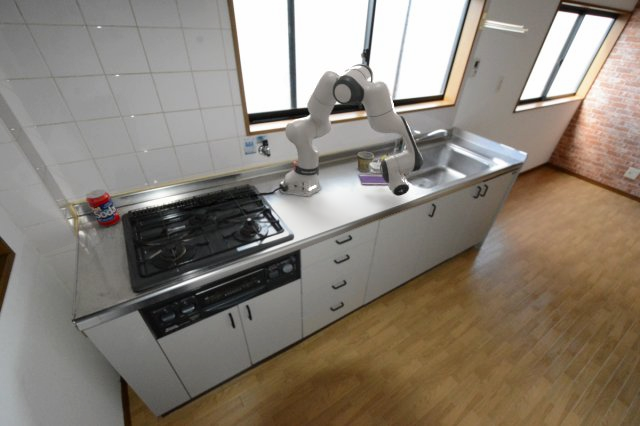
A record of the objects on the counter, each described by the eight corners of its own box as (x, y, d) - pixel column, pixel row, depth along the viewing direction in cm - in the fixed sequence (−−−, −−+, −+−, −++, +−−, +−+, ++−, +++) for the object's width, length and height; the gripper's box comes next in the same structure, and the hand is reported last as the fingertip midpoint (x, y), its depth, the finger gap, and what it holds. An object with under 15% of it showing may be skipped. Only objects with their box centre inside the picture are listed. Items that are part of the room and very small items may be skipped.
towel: (362, 184, 158) (362, 184, 157) (358, 175, 167) (358, 174, 167) (387, 185, 159) (387, 184, 159) (382, 175, 168) (382, 174, 168)
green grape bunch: (379, 174, 146) (383, 155, 139) (376, 168, 151) (380, 150, 144) (390, 174, 146) (395, 155, 140) (387, 168, 151) (391, 150, 145)
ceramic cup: (367, 174, 168) (369, 159, 162) (352, 169, 172) (354, 155, 166) (375, 167, 177) (378, 152, 171) (361, 162, 181) (364, 148, 175)
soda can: (115, 214, 125) (101, 186, 116) (124, 221, 121) (110, 192, 112) (96, 223, 119) (80, 194, 110) (105, 230, 116) (89, 200, 107)
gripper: (370, 179, 136) (365, 166, 147) (410, 179, 137) (402, 167, 148) (372, 167, 132) (367, 155, 143) (413, 168, 134) (404, 156, 145)
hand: (385, 161), depth 146 cm, fingers closed on green grape bunch, 6 cm apart
